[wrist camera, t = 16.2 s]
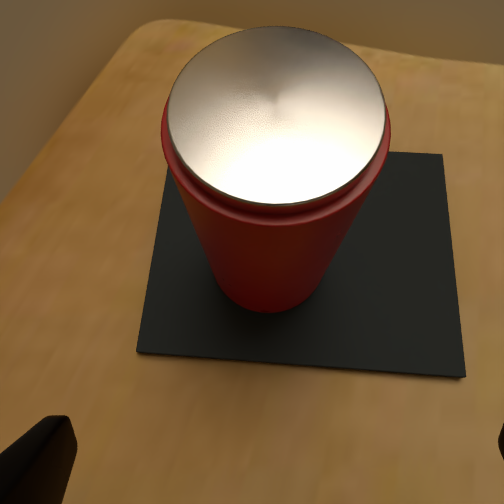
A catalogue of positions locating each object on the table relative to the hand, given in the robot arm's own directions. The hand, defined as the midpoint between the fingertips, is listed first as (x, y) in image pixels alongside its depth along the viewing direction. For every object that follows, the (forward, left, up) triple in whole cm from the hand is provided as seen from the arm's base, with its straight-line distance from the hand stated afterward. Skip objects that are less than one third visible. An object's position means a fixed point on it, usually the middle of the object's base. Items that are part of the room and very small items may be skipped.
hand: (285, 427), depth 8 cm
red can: (+1, -8, -13) cm, 15 cm away
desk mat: (-1, -9, -14) cm, 16 cm away
